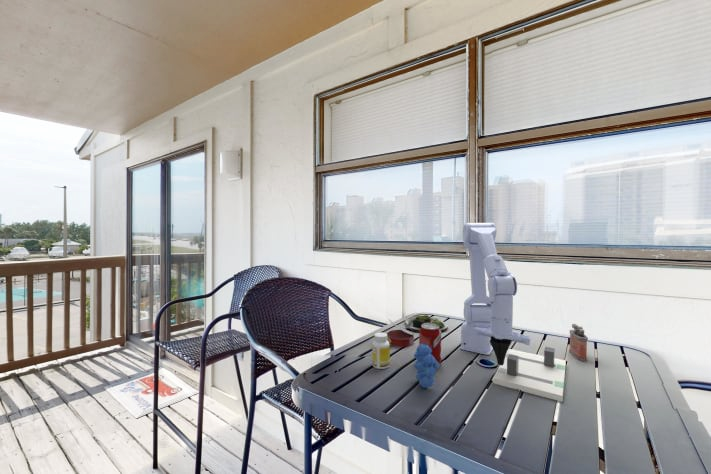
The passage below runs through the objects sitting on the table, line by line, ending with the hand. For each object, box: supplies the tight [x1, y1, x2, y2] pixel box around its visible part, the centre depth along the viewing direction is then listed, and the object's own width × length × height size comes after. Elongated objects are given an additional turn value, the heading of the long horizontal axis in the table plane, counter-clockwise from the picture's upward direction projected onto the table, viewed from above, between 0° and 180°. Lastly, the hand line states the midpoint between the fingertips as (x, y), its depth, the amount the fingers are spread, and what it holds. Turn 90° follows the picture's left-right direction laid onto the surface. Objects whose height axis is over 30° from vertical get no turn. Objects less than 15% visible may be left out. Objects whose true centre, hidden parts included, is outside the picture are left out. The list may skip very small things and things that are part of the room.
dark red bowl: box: [386, 318, 415, 348], centre depth 118 cm, size 11×10×10 cm
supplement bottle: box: [371, 331, 391, 370], centre depth 98 cm, size 5×5×10 cm
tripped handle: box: [507, 354, 519, 376], centre depth 90 cm, size 2×4×4 cm, turn 145°
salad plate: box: [405, 313, 449, 333], centre depth 136 cm, size 19×18×5 cm
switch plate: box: [492, 348, 567, 403], centre depth 92 cm, size 16×24×2 cm, turn 145°
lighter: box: [568, 323, 589, 363], centre depth 104 cm, size 8×3×10 cm, turn 168°
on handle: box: [543, 346, 556, 367], centre depth 95 cm, size 2×4×4 cm, turn 145°
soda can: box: [418, 322, 442, 365], centre depth 99 cm, size 7×7×12 cm
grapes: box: [413, 344, 441, 389], centre depth 85 cm, size 12×7×12 cm, turn 8°
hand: (500, 363), depth 91 cm, fingers closed
